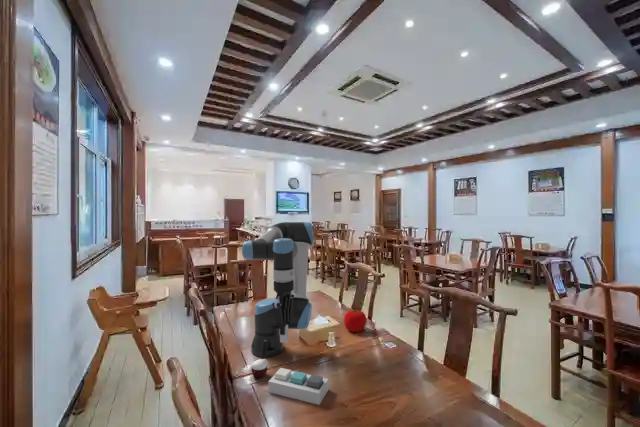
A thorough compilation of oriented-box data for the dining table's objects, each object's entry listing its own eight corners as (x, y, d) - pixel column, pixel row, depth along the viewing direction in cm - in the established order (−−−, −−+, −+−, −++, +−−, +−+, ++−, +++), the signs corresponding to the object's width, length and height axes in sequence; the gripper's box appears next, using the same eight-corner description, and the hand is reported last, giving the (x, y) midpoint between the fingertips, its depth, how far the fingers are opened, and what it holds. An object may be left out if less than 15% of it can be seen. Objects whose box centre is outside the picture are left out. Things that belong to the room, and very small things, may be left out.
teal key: (290, 388, 110) (290, 377, 110) (296, 381, 114) (295, 371, 114) (301, 390, 109) (301, 379, 108) (306, 383, 113) (306, 373, 113)
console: (268, 392, 111) (268, 381, 111) (281, 378, 119) (280, 368, 119) (319, 405, 103) (319, 393, 103) (328, 389, 112) (328, 378, 112)
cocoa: (255, 383, 116) (255, 352, 116) (246, 377, 121) (245, 347, 120) (274, 372, 124) (274, 343, 123) (264, 367, 128) (264, 339, 127)
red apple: (341, 333, 162) (340, 312, 162) (348, 324, 175) (348, 305, 174) (362, 336, 158) (362, 315, 158) (368, 327, 170) (368, 307, 170)
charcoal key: (306, 391, 108) (306, 380, 108) (311, 385, 112) (311, 374, 112) (318, 394, 106) (318, 383, 106) (322, 387, 110) (322, 376, 110)
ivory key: (275, 384, 113) (274, 373, 112) (280, 378, 117) (280, 367, 117) (285, 386, 111) (285, 376, 111) (291, 380, 115) (290, 370, 115)
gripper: (284, 285, 106) (284, 351, 107) (300, 276, 118) (300, 336, 119) (265, 283, 109) (266, 347, 110) (283, 275, 121) (283, 333, 122)
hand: (284, 341), depth 114 cm, fingers closed
